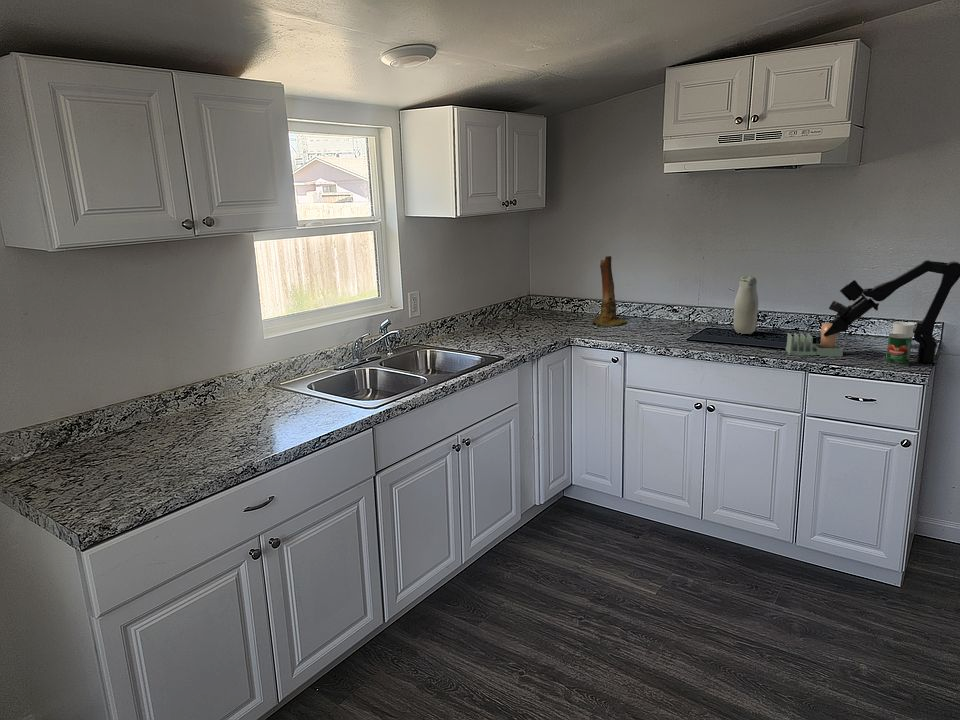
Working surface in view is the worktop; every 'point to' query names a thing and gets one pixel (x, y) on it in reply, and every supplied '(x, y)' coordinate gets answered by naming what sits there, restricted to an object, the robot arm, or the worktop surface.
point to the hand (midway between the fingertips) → (825, 334)
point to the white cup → (903, 328)
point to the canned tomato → (898, 349)
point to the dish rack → (809, 346)
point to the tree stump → (608, 297)
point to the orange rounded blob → (827, 337)
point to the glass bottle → (746, 306)
